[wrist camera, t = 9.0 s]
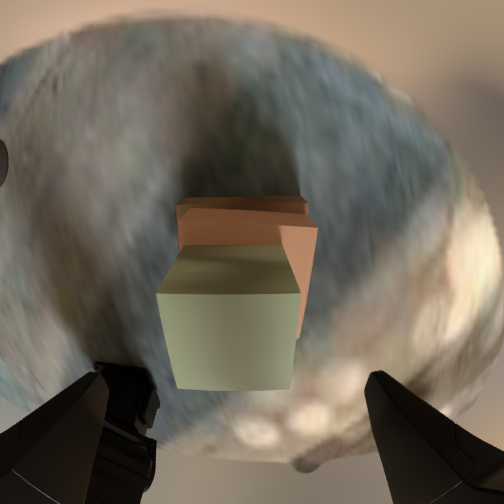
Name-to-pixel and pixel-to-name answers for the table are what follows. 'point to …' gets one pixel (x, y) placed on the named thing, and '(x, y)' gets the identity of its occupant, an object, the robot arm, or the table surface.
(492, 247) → the table surface
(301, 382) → the table surface
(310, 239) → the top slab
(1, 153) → the sundae
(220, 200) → the bottom slab
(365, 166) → the table surface
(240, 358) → the cube
